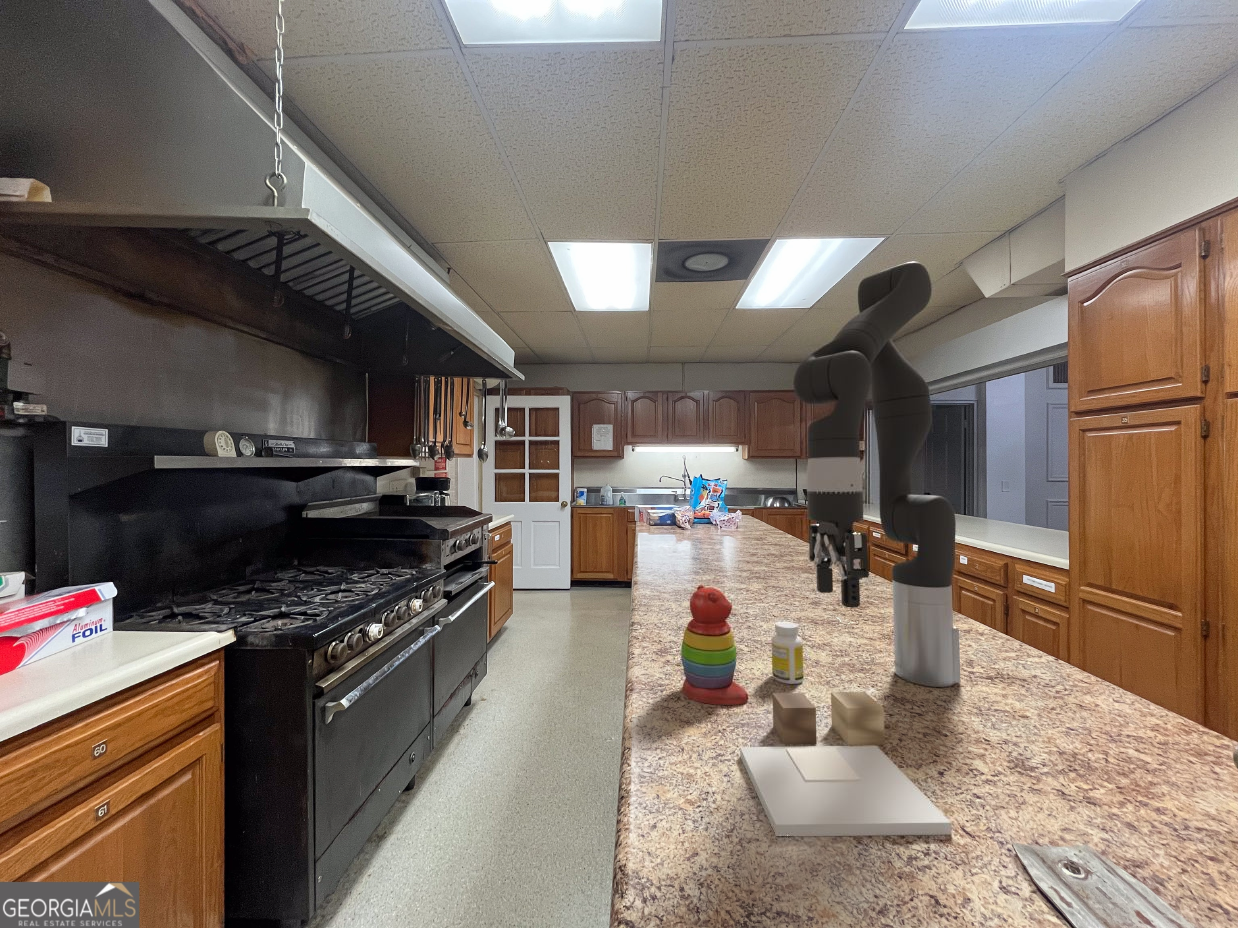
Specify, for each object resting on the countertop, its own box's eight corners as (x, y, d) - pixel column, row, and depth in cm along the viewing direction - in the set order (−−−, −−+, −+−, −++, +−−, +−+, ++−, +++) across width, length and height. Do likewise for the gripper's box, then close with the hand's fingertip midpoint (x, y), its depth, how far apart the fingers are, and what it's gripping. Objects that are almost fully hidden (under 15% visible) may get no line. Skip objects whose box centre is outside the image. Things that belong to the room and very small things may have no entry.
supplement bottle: (798, 672, 89) (797, 620, 89) (807, 685, 83) (806, 629, 84) (769, 672, 89) (768, 619, 90) (776, 684, 84) (774, 628, 84)
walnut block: (803, 727, 69) (802, 692, 70) (816, 744, 65) (815, 707, 65) (773, 727, 69) (772, 693, 70) (783, 744, 65) (783, 707, 65)
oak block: (865, 725, 70) (864, 691, 70) (884, 744, 65) (883, 707, 65) (831, 726, 70) (830, 691, 70) (848, 745, 65) (847, 708, 65)
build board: (876, 754, 62) (876, 743, 62) (951, 834, 48) (951, 820, 48) (740, 756, 62) (740, 745, 62) (776, 836, 48) (775, 822, 48)
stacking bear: (752, 704, 77) (750, 593, 77) (692, 709, 75) (691, 596, 76) (727, 676, 87) (725, 579, 88) (674, 680, 86) (673, 582, 86)
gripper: (886, 489, 63) (889, 612, 62) (838, 487, 77) (840, 587, 77) (829, 490, 63) (832, 612, 62) (792, 488, 77) (794, 588, 77)
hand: (837, 598), depth 70 cm, fingers open, 8 cm apart
